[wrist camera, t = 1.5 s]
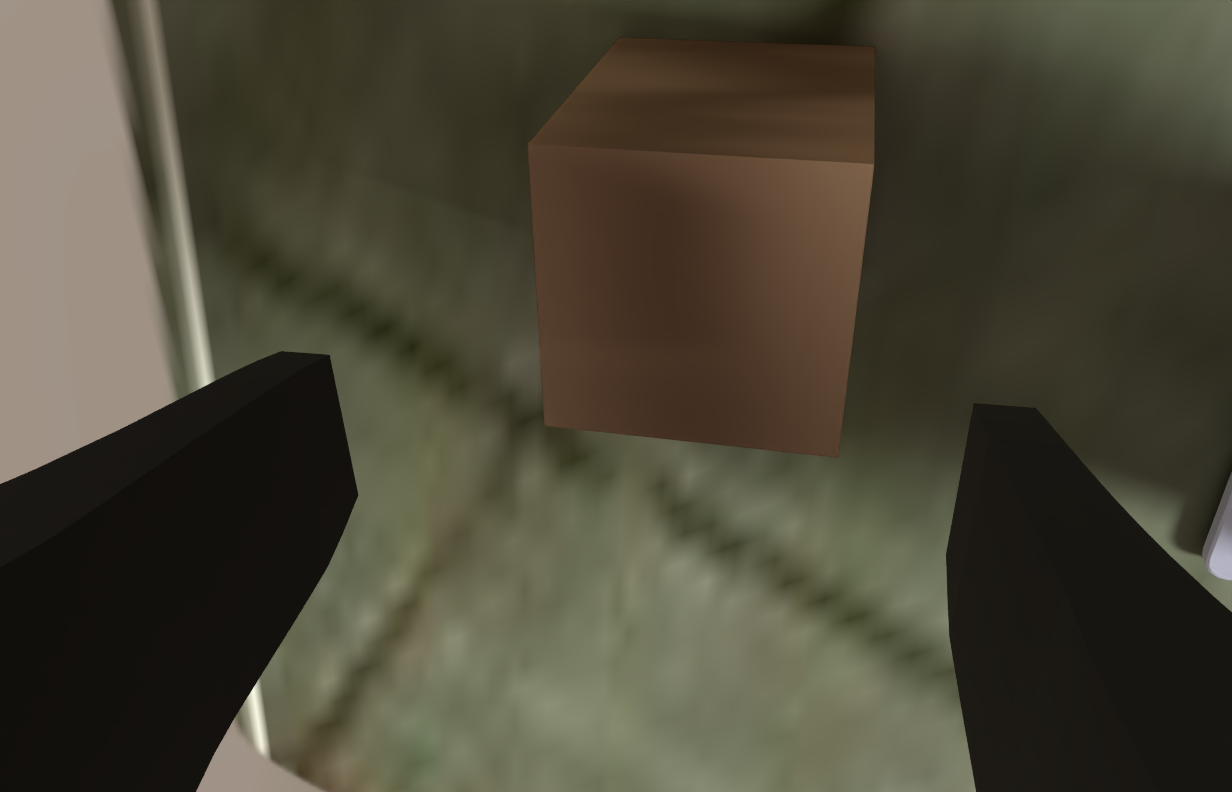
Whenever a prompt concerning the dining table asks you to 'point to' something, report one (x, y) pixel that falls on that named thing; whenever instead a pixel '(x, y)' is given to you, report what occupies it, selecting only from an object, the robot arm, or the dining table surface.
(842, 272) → the walnut block
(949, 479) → the dining table surface
